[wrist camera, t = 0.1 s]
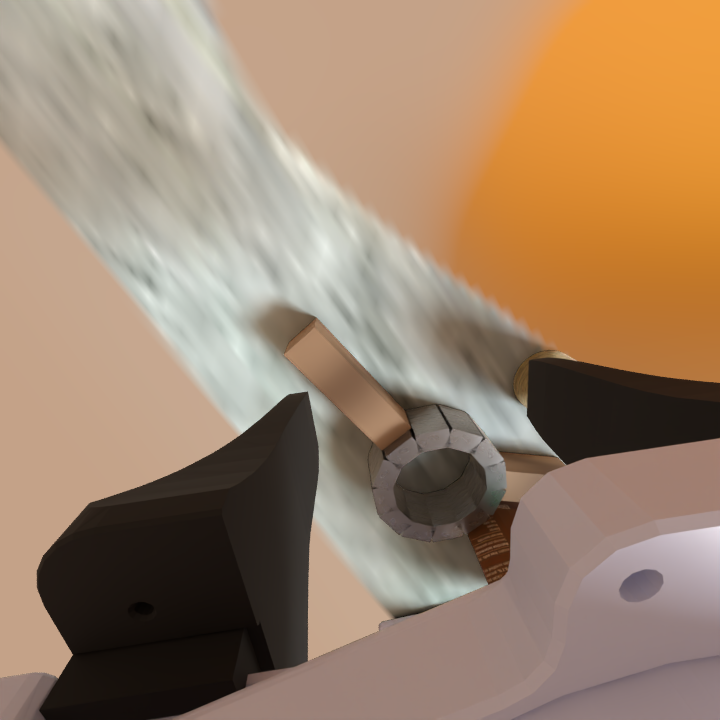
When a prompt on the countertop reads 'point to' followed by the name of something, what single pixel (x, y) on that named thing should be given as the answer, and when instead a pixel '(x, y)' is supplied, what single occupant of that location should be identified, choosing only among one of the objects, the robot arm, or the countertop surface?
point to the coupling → (416, 446)
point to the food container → (494, 541)
